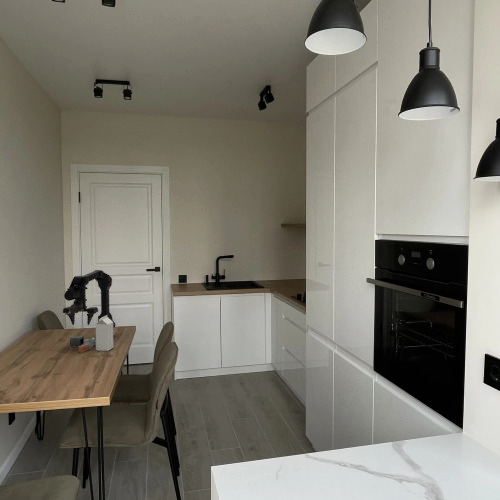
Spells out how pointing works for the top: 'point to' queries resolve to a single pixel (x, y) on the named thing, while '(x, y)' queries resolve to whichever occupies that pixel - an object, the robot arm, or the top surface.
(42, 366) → the top surface
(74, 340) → the dark-topped grey cube
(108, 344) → the milk carton
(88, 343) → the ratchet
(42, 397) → the top surface
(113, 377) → the top surface
